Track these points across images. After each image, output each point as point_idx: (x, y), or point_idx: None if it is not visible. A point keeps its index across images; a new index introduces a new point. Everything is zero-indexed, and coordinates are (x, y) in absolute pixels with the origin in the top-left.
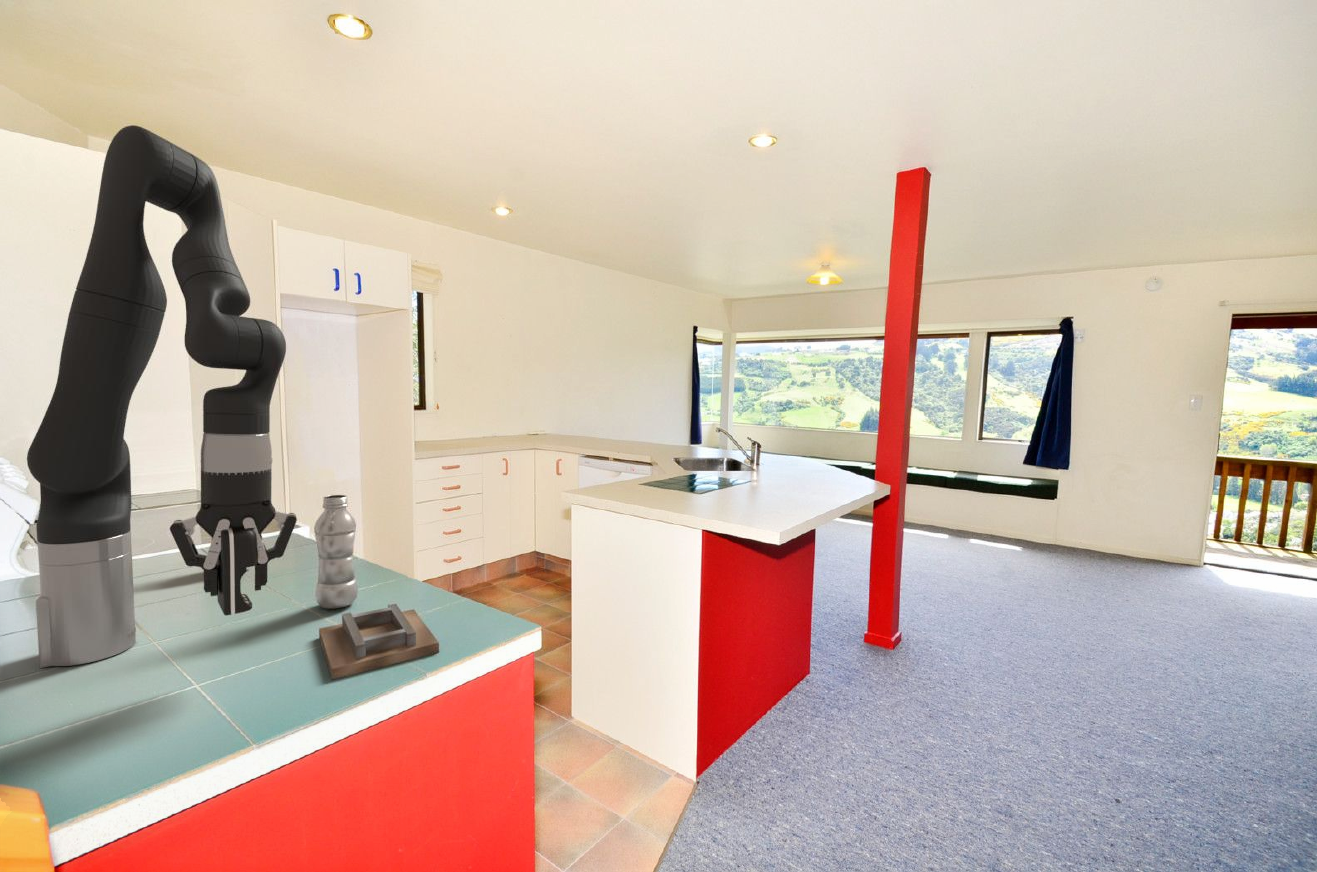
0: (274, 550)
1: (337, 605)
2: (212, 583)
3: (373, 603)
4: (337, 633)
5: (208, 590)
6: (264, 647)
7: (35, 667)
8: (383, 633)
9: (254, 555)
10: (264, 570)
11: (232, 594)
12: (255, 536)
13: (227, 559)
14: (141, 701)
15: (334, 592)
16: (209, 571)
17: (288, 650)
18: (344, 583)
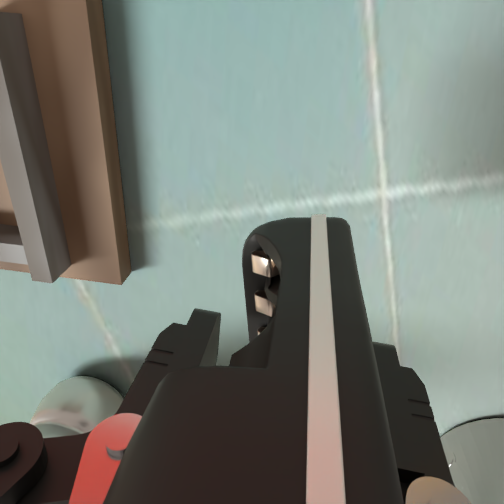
0: (7, 487)
1: (89, 380)
2: (396, 390)
3: (29, 365)
4: (80, 230)
5: (403, 372)
6: (237, 295)
7: None
8: None
9: (136, 455)
10: (147, 384)
11: (320, 261)
12: None
13: (366, 470)
14: (493, 188)
15: (77, 407)
16: (422, 470)
17: (194, 249)
18: (46, 422)
